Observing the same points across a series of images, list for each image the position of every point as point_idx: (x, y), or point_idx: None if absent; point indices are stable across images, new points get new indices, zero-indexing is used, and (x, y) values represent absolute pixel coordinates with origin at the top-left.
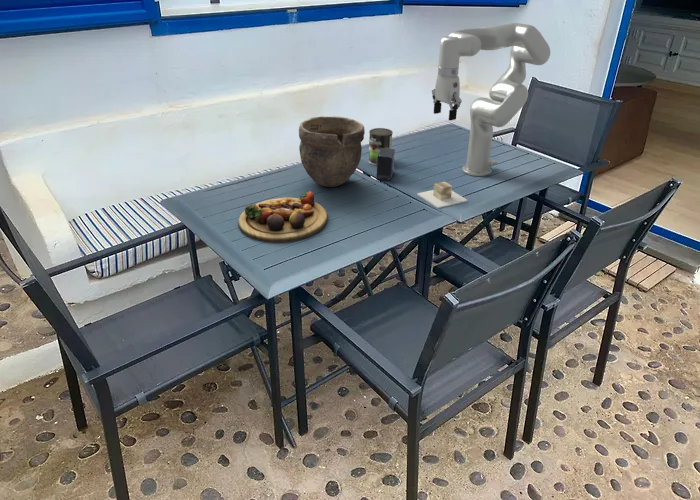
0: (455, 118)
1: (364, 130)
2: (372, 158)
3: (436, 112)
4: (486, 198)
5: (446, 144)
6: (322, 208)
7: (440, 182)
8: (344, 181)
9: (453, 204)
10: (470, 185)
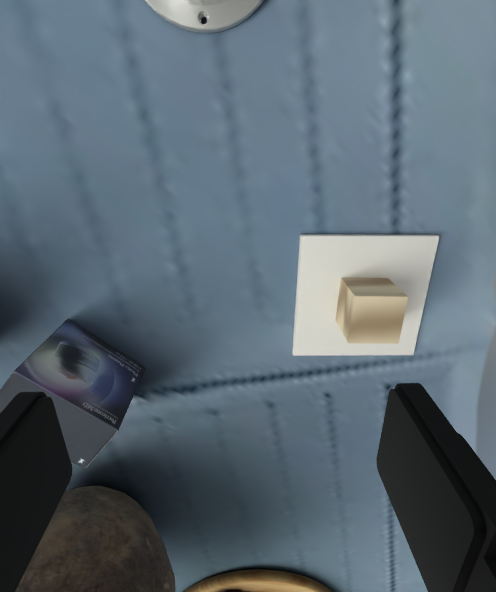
0: (420, 396)
1: None
2: None
3: (61, 464)
4: (468, 144)
5: None
6: (266, 583)
7: (352, 316)
8: (150, 517)
9: (423, 295)
10: (332, 114)
